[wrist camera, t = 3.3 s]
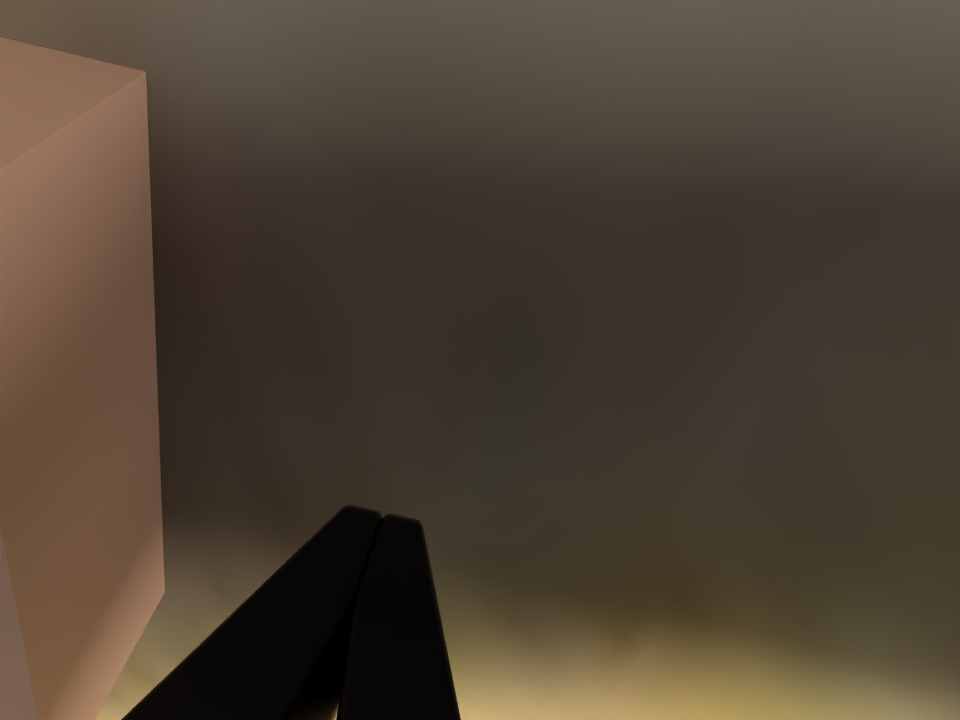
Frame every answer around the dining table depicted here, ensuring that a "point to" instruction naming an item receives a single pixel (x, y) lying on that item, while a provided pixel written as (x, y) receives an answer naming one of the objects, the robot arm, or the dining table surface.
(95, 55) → the dining table surface
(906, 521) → the dining table surface
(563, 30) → the dining table surface
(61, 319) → the terracotta block
